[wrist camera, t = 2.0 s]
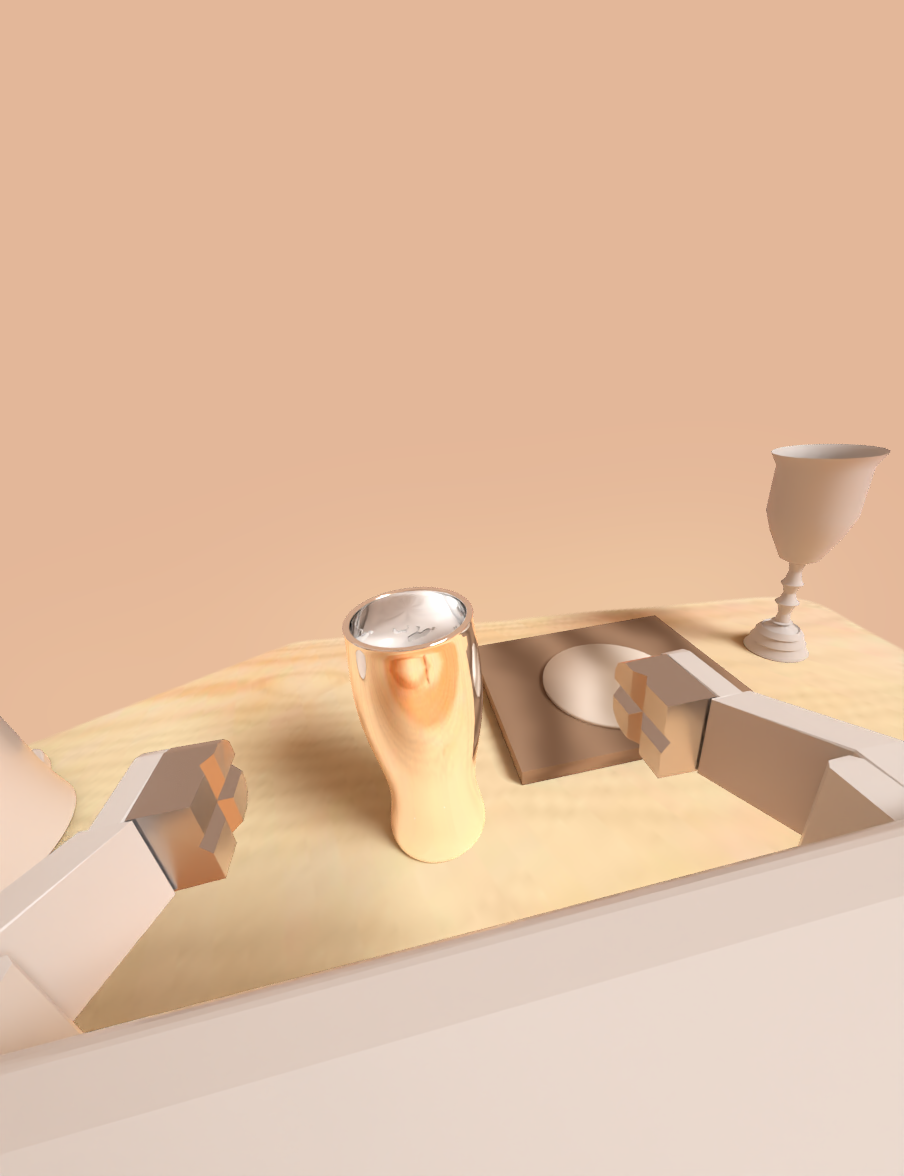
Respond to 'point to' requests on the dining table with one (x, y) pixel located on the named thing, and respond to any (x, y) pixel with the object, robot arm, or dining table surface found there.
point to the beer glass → (421, 713)
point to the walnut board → (571, 694)
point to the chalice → (809, 526)
